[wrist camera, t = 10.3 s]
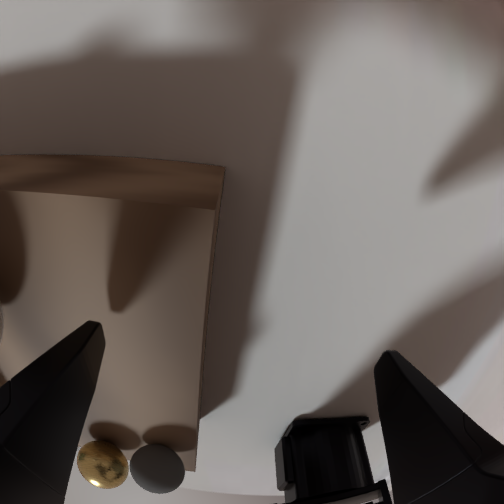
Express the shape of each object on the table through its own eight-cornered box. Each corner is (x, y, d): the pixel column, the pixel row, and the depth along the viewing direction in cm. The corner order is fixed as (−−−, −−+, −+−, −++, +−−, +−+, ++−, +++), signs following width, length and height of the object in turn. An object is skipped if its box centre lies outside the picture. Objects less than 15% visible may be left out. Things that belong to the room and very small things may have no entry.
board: (225, 167, 11) (215, 210, 7) (199, 419, 20) (195, 471, 16) (-76, 161, 9) (-121, 187, 5) (-12, 361, 18) (-31, 396, 14)
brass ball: (127, 439, 14) (118, 487, 11) (136, 457, 15) (128, 499, 12) (77, 425, 13) (64, 470, 10) (91, 446, 15) (81, 485, 12)
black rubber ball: (186, 440, 13) (181, 490, 11) (187, 459, 15) (183, 501, 12) (130, 430, 13) (120, 478, 10) (138, 450, 14) (131, 492, 12)
